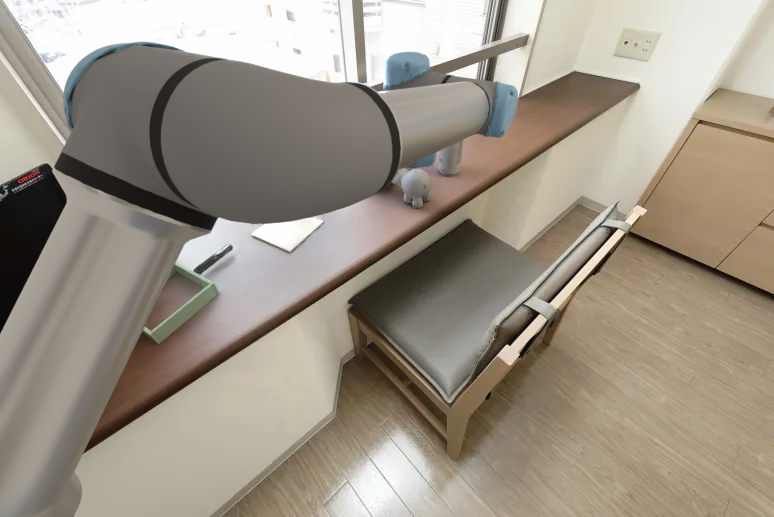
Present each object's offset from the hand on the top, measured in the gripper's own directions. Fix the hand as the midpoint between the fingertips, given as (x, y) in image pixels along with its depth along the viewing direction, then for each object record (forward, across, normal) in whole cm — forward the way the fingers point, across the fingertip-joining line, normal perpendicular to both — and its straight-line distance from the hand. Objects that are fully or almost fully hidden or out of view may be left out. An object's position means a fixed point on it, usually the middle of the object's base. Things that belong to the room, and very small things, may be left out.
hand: (238, 152), depth 66 cm
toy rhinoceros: (-34, +12, -20) cm, 41 cm away
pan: (+11, -18, -20) cm, 28 cm away
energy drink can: (-46, +24, -20) cm, 55 cm away
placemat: (-5, 0, -20) cm, 20 cm away
